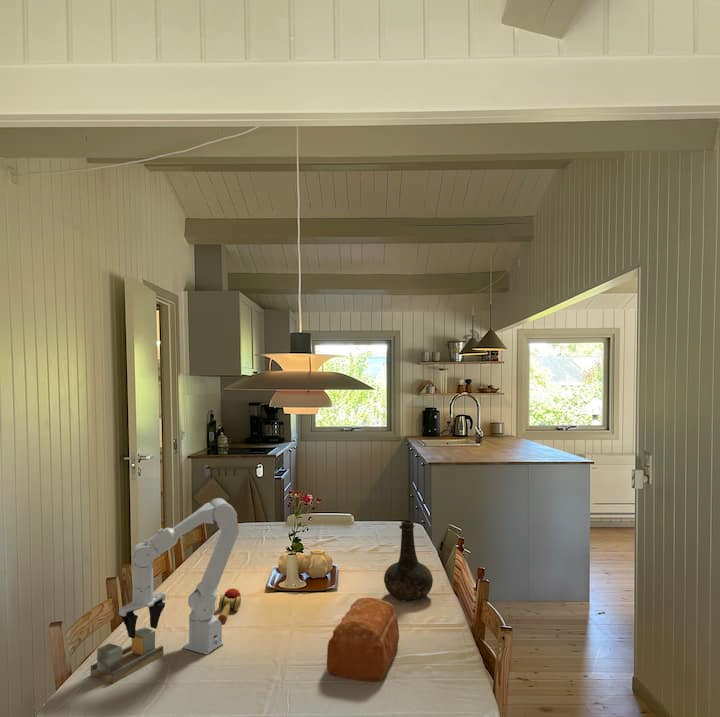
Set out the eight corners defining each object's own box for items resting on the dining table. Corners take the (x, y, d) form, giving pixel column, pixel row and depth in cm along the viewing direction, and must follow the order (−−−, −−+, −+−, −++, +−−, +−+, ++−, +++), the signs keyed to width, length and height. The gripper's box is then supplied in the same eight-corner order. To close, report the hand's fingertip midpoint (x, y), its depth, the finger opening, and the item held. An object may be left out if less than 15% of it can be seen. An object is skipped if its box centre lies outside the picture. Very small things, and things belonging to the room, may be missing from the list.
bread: (323, 676, 171) (323, 622, 171) (347, 638, 194) (347, 591, 194) (384, 684, 166) (384, 629, 166) (401, 644, 190) (401, 596, 190)
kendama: (236, 626, 205) (246, 598, 223) (232, 609, 205) (242, 582, 222) (213, 630, 206) (225, 602, 223) (209, 613, 205) (221, 586, 223)
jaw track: (163, 655, 182) (163, 629, 182) (113, 683, 166) (113, 655, 166) (141, 648, 186) (141, 623, 186) (90, 675, 170) (90, 648, 170)
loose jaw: (154, 651, 181) (155, 631, 181) (141, 657, 177) (142, 636, 177) (144, 647, 184) (144, 627, 184) (130, 653, 180) (131, 632, 180)
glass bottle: (436, 591, 234) (436, 517, 234) (427, 609, 217) (427, 529, 217) (391, 586, 239) (391, 513, 240) (378, 603, 222) (378, 525, 223)
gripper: (130, 596, 173) (130, 645, 173) (172, 581, 185) (172, 626, 185) (114, 591, 177) (114, 639, 177) (156, 576, 189) (156, 621, 189)
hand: (142, 632), depth 181 cm, fingers open, 7 cm apart
